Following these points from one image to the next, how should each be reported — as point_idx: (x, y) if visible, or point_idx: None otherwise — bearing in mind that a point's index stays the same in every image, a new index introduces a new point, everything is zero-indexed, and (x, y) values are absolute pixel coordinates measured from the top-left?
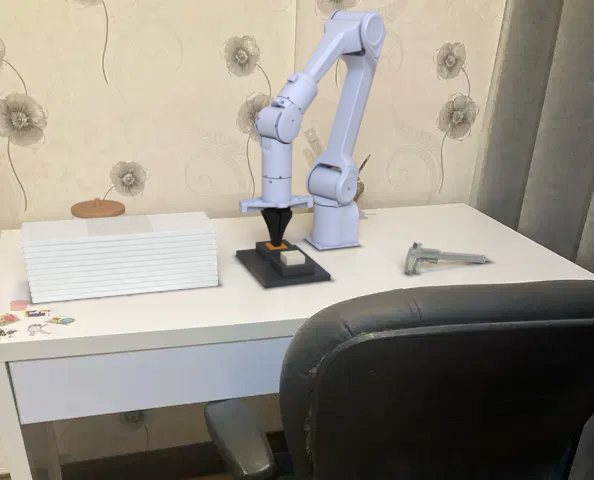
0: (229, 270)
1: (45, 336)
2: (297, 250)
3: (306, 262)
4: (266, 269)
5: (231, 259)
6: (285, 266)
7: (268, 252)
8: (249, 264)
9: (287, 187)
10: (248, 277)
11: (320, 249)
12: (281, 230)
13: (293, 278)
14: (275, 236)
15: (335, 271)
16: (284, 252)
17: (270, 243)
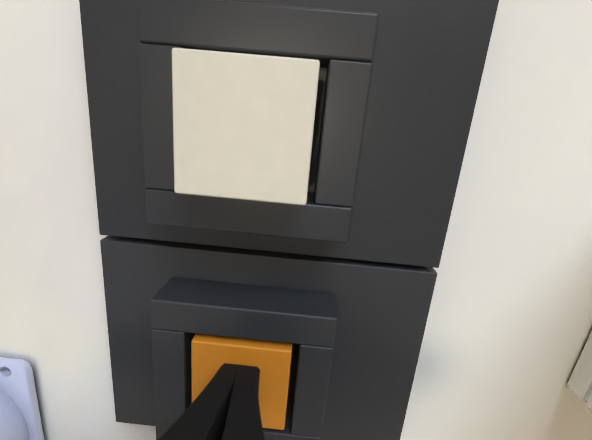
0: (504, 305)
1: None
2: (181, 186)
3: None
4: (389, 187)
5: (426, 408)
6: (345, 39)
7: (323, 315)
8: (433, 283)
9: None
10: (473, 193)
11: (22, 359)
12: (193, 435)
13: None
14: (247, 408)
15: (32, 97)
16: (285, 183)
17: None
